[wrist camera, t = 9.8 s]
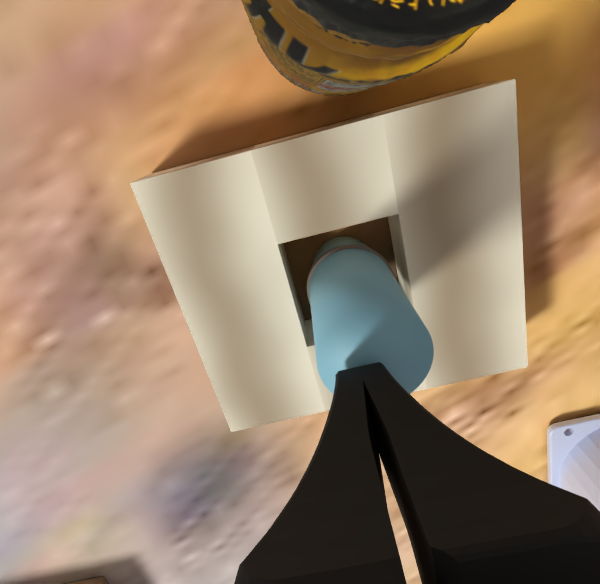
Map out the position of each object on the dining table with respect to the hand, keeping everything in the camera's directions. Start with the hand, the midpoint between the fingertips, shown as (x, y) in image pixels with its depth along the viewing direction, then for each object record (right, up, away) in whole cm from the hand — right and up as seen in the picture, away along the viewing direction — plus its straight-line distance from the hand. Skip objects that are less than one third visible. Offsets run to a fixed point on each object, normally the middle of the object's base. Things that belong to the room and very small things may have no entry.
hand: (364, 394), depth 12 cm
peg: (0, +4, +7) cm, 8 cm away
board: (0, +4, +7) cm, 8 cm away
